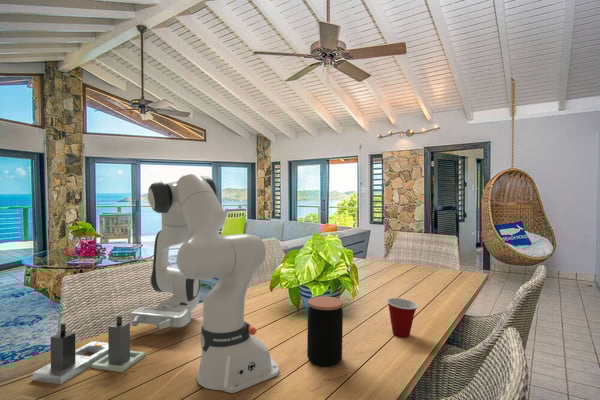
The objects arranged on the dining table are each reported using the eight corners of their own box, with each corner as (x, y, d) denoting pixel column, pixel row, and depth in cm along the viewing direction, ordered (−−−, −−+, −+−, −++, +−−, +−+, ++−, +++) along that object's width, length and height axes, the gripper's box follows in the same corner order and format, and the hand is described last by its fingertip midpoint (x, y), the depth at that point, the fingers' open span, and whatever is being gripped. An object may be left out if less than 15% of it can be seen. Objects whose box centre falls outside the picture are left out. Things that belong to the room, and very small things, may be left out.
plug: (118, 357, 106) (118, 313, 105) (129, 359, 105) (129, 314, 104) (108, 363, 102) (108, 318, 101) (120, 365, 101) (120, 319, 101)
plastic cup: (419, 342, 120) (420, 307, 120) (387, 339, 122) (387, 305, 122) (415, 330, 131) (416, 298, 130) (385, 327, 133) (386, 296, 132)
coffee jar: (339, 351, 112) (340, 296, 112) (344, 368, 102) (345, 307, 101) (306, 351, 112) (306, 296, 112) (308, 368, 101) (308, 307, 101)
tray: (116, 353, 109) (116, 348, 109) (145, 357, 107) (145, 352, 107) (91, 369, 99) (91, 364, 99) (122, 373, 97) (122, 368, 97)
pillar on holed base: (92, 348, 112) (92, 305, 112) (116, 351, 110) (116, 307, 110) (32, 381, 93) (32, 329, 92) (60, 386, 91) (60, 332, 91)
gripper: (144, 300, 131) (118, 313, 117) (194, 304, 126) (173, 318, 113) (144, 317, 131) (118, 331, 117) (194, 322, 126) (173, 337, 113)
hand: (145, 325), depth 115 cm, fingers open, 8 cm apart
